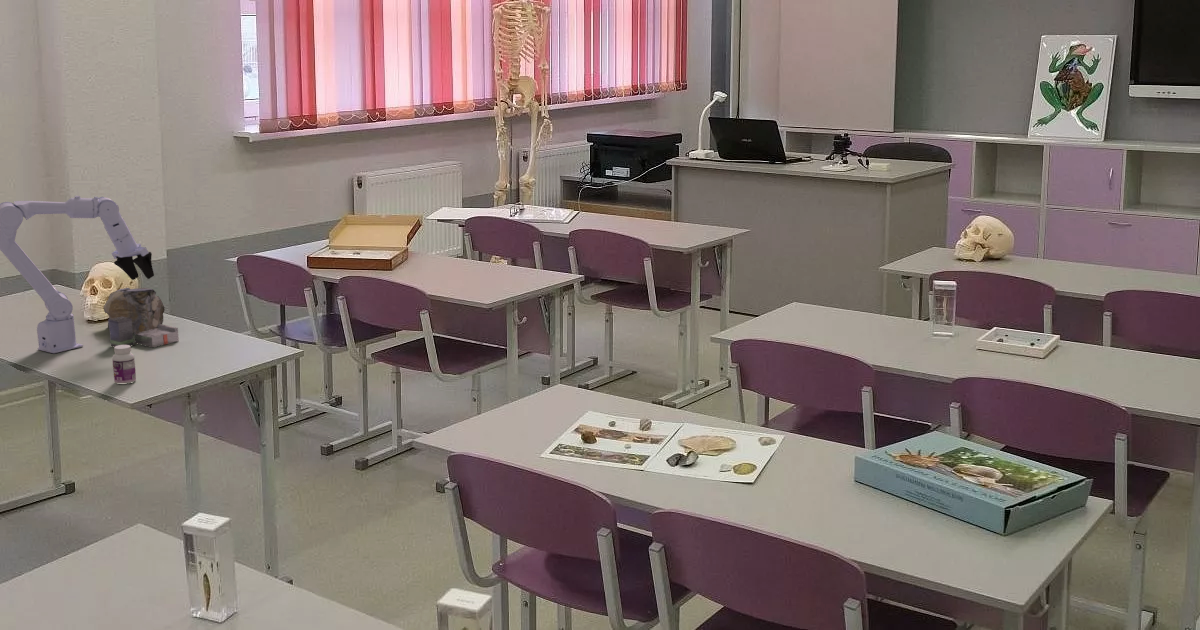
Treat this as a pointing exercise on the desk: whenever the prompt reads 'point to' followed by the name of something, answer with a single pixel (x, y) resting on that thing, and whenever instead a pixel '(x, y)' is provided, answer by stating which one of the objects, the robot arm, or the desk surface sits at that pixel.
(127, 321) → the grey rectangular block
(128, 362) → the pill bottle
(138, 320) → the fossil rock
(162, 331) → the stand block
